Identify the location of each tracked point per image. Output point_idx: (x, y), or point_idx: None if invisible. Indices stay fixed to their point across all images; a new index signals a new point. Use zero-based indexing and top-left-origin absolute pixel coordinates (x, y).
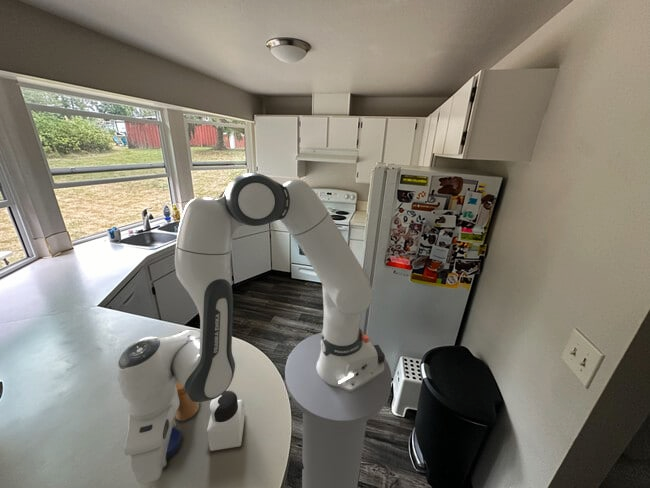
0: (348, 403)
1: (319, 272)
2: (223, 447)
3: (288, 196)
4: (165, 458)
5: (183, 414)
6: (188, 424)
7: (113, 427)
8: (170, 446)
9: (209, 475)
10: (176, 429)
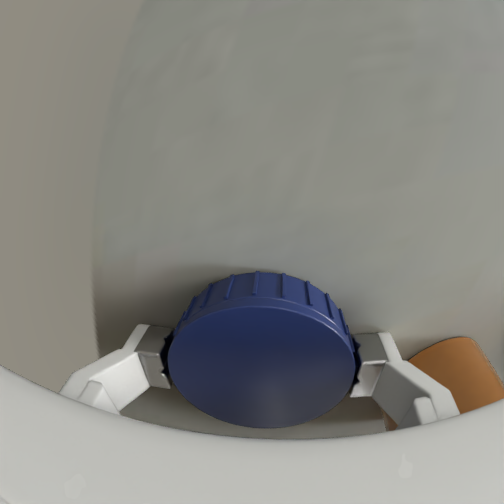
0: None
1: None
2: None
3: None
4: (145, 388)
5: (393, 426)
6: (348, 403)
7: (486, 4)
8: (211, 404)
9: None
10: (316, 416)
